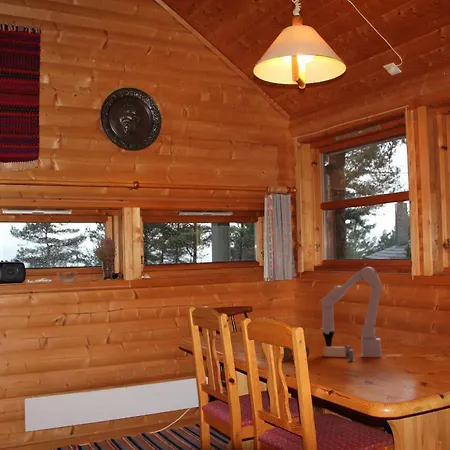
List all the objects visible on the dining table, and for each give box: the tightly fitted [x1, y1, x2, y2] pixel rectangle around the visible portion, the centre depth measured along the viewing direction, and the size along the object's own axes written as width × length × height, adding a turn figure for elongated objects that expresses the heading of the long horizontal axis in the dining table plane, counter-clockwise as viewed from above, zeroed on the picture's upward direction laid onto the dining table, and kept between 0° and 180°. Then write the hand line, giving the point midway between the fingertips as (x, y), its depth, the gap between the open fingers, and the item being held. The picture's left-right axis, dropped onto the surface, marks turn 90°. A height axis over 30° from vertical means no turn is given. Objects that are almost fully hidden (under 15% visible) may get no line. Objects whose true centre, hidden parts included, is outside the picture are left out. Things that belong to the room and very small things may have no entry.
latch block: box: [347, 348, 356, 363], centre depth 297 cm, size 3×5×5 cm, turn 165°
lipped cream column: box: [323, 345, 346, 358], centre depth 309 cm, size 10×2×5 cm, turn 75°
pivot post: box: [344, 344, 352, 359], centre depth 307 cm, size 4×4×6 cm
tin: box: [282, 345, 310, 361], centre depth 302 cm, size 15×3×8 cm, turn 62°
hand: (328, 346), depth 316 cm, fingers closed
